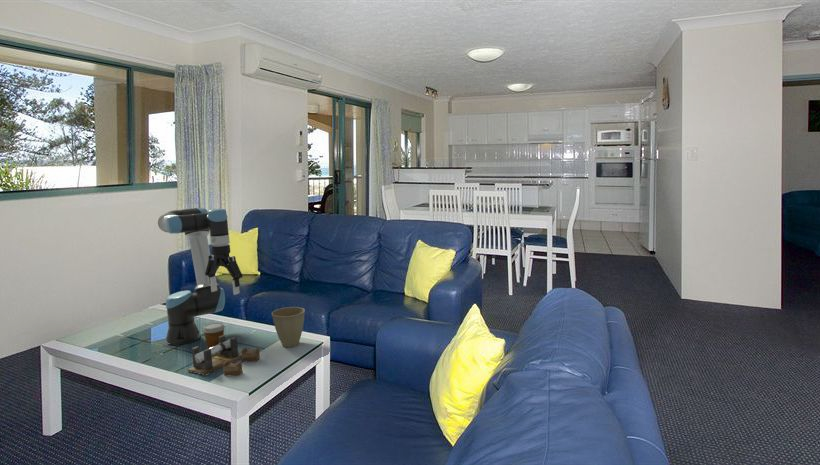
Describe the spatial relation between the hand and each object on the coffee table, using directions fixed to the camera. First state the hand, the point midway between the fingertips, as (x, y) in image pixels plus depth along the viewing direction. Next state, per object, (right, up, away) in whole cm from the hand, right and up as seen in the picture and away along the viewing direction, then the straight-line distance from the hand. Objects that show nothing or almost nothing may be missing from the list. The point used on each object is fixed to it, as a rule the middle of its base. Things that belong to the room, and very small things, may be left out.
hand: (225, 292), depth 220 cm
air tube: (-2, -26, -6) cm, 27 cm away
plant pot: (+25, -26, +14) cm, 39 cm away
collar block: (-2, -30, -5) cm, 30 cm away
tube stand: (+11, -30, -10) cm, 33 cm away
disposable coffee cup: (-8, -28, +10) cm, 31 cm away
